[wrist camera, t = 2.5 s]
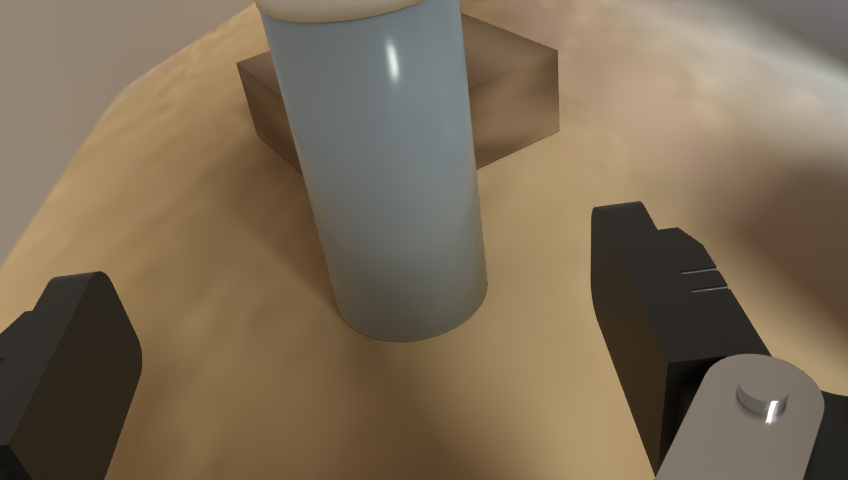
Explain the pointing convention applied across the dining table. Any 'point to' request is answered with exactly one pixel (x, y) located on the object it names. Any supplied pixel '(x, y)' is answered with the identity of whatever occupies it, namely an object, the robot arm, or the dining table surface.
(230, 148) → the dining table surface
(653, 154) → the dining table surface
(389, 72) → the tumbler
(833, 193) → the dining table surface
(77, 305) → the robot arm
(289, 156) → the block
